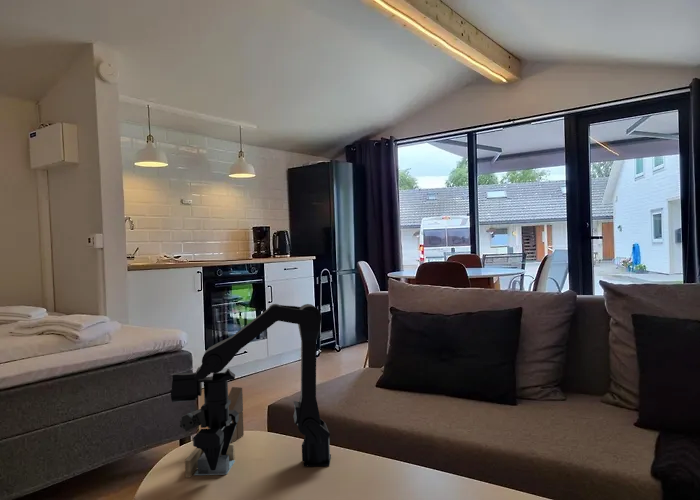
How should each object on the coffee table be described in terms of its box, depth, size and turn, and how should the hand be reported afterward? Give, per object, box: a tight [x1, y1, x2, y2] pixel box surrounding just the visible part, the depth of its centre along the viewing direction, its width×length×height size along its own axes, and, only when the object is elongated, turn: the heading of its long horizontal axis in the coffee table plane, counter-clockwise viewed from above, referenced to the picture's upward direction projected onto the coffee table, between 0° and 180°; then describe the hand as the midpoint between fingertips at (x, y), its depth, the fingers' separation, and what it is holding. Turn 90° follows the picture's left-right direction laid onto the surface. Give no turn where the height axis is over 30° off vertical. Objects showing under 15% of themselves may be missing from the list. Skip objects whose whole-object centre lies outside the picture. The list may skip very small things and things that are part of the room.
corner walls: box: [184, 442, 236, 478], centre depth 130 cm, size 9×11×4 cm
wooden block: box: [228, 386, 245, 444], centre depth 148 cm, size 4×11×18 cm, turn 160°
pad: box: [193, 459, 236, 476], centre depth 129 cm, size 8×8×1 cm
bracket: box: [197, 453, 230, 475], centre depth 129 cm, size 7×7×4 cm
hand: (218, 462), depth 127 cm, fingers open, 9 cm apart
